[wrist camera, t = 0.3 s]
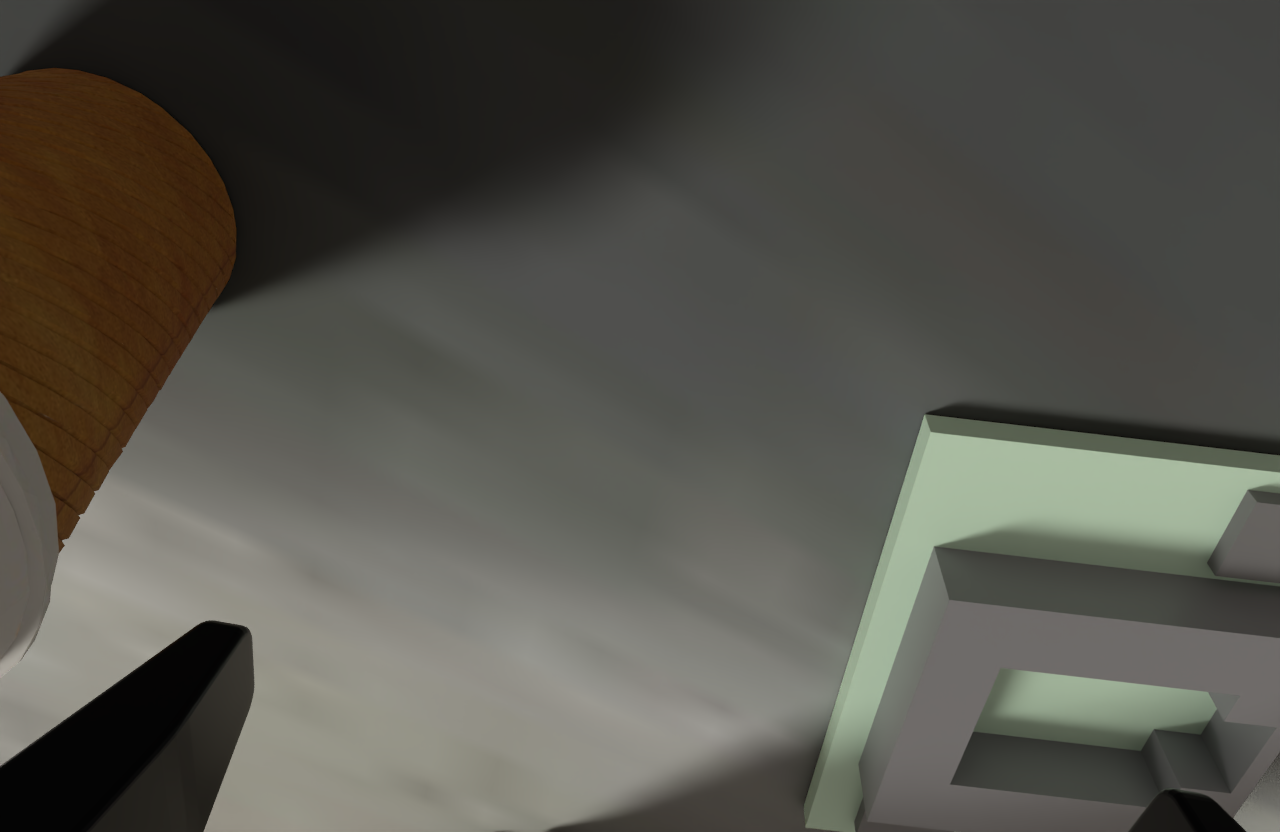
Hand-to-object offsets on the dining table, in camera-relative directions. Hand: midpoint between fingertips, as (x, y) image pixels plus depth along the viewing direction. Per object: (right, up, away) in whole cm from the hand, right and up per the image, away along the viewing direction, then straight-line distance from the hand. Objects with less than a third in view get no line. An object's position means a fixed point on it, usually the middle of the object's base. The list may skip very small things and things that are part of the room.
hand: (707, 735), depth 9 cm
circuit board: (+12, -4, +19) cm, 23 cm away
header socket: (+12, -4, +19) cm, 23 cm away
